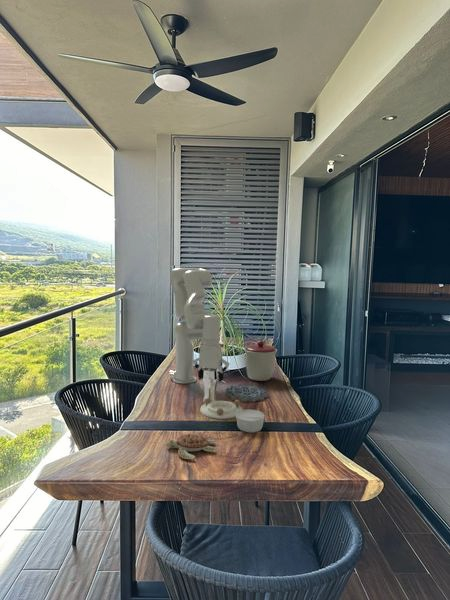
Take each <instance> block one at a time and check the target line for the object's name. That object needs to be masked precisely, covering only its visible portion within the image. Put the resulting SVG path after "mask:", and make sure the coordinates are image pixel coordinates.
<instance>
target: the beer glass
mask: <svg viewBox="0 0 450 600" xmlns="http://www.w3.org/2000/svg"><path fill="white" fill-rule="evenodd" d="M202 369H203V378H202V387H203V399H202V401H203V403H205V402H204V401H205V399H206V398H209V399H210V400H211V402H213V401H217V396H216V395H217V394H216V391H217V388H218V383H219V372H218V371H219V370H218V369H211V368H202Z"/></svg>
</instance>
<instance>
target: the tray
mask: <svg viewBox="0 0 450 600" xmlns="http://www.w3.org/2000/svg"><path fill="white" fill-rule="evenodd" d="M203 403H204V404H202V405H201V406H200V410H199V411H200V413H201V414H202V415H203V416H204V417H207V418H211V419H216V420H230V419H234V418H236V413H237V412H238V411H241V410H244V409H243V407H242V406H241V401H239V400H233V402H232V401H227V400H216V401H213V402H211V400H210V399H209V398H206V399H205V401H204V402H203Z"/></svg>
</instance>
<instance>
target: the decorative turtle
mask: <svg viewBox="0 0 450 600" xmlns="http://www.w3.org/2000/svg"><path fill="white" fill-rule="evenodd" d="M215 442H216V440H215V439H212V438H207V437H204V436H202V435H200V434H196V433H185V434H182V435H180V436H178V437H177V438H176V439H170V440H168V441H167V442H166V447H167V448H170V449H178V450H177V452H178V455H179V456H180V457H181V458H182V459H185V460H194V459H196V456H195V455H193V454H192V453H191V454H190V453H189V452H199V451H202V450H203V451H204V452H214V451H216V449H217V448H216V447H214V446H210V443H215Z"/></svg>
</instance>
